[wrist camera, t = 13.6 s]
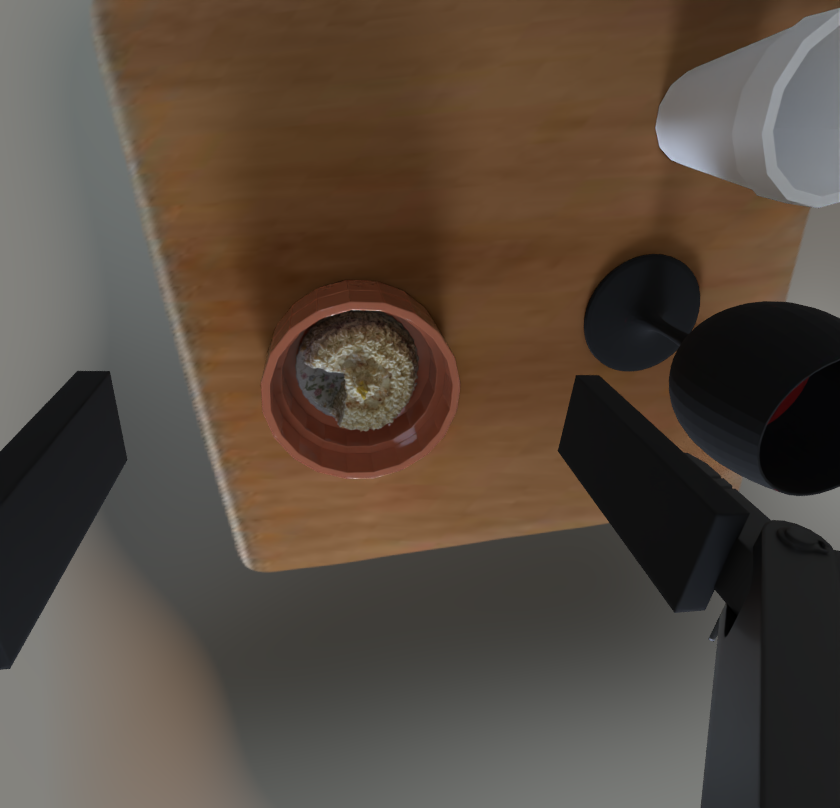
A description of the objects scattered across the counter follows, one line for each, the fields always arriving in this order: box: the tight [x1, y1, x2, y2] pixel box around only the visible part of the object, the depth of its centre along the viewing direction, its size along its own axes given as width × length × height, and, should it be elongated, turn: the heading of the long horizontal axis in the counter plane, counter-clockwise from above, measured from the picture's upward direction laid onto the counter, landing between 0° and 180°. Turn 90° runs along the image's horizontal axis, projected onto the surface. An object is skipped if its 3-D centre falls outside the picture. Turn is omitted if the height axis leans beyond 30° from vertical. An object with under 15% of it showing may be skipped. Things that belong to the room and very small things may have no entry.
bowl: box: [261, 280, 460, 479], centre depth 41 cm, size 14×14×6 cm
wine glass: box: [584, 254, 840, 496], centre depth 37 cm, size 10×10×20 cm
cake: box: [295, 310, 419, 432], centre depth 41 cm, size 10×10×5 cm
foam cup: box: [655, 8, 840, 208], centre depth 33 cm, size 10×9×13 cm
